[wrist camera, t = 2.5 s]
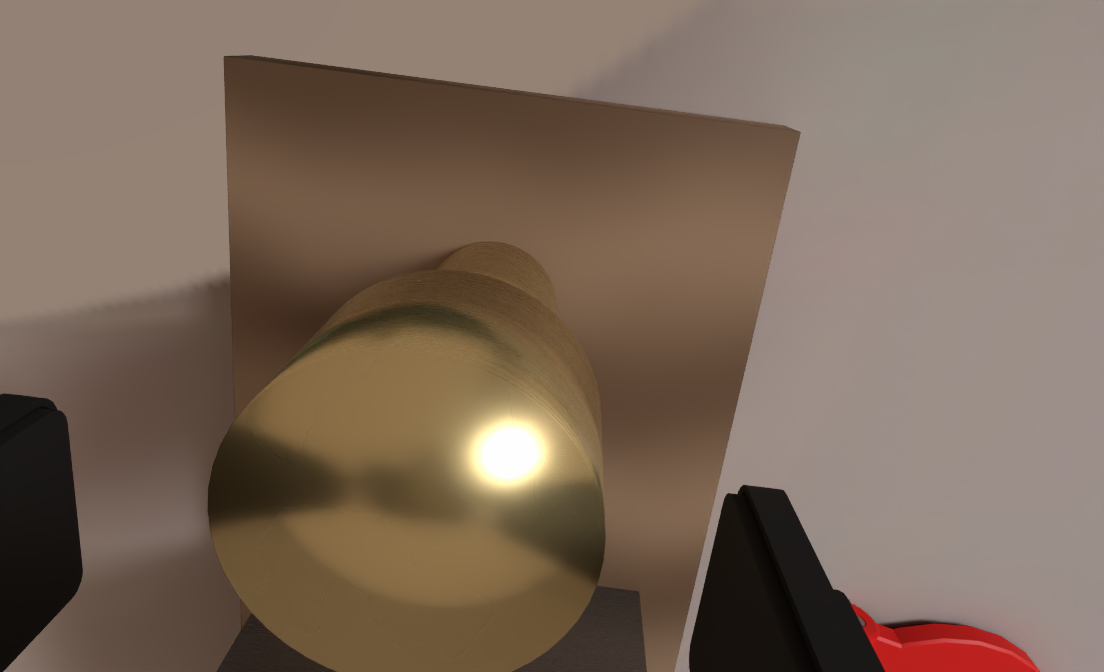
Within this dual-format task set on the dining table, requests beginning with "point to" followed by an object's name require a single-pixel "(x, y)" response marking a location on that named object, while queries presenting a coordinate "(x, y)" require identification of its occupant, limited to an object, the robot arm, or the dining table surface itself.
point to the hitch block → (566, 668)
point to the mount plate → (543, 232)
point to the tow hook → (943, 648)
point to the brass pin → (421, 476)
